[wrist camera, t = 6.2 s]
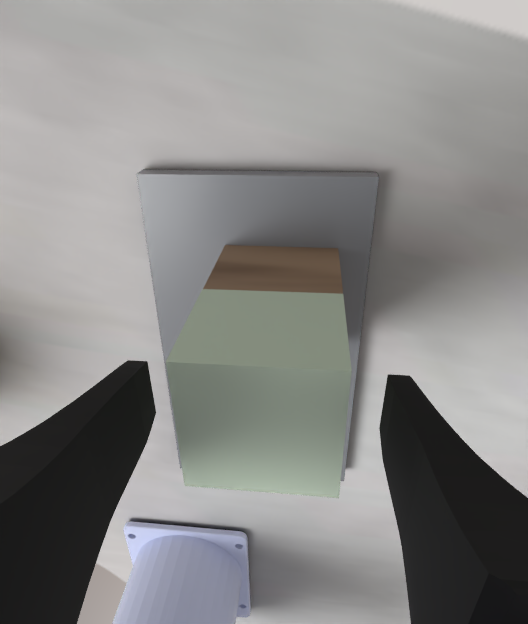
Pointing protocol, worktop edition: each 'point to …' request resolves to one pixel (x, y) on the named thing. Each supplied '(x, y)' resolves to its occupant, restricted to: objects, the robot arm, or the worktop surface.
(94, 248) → the worktop surface
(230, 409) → the green block
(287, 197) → the baseplate
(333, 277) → the walnut block
